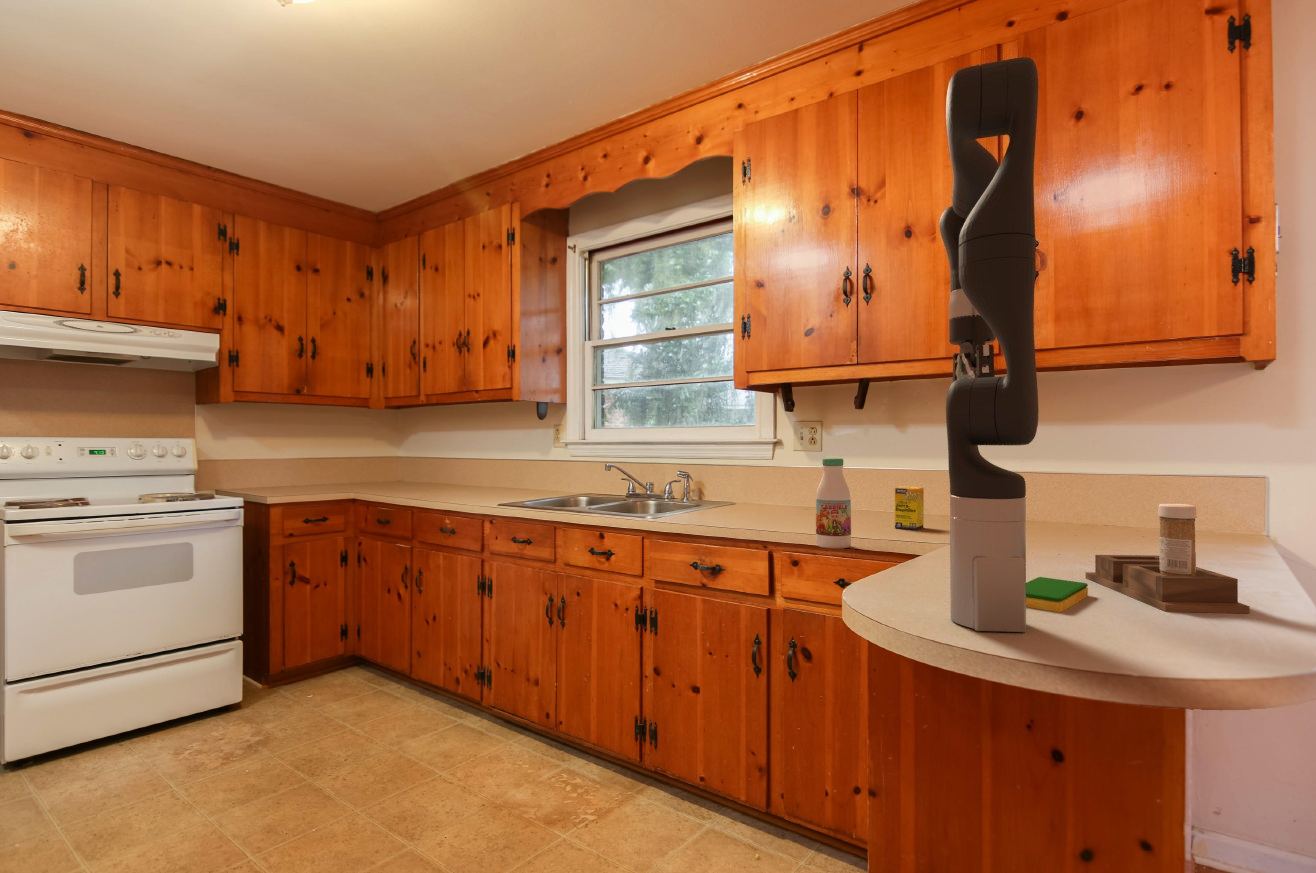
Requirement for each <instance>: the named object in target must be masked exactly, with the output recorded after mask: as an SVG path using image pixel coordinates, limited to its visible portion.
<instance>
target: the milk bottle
mask: <svg viewBox="0 0 1316 873" xmlns="http://www.w3.org/2000/svg"><path fill="white" fill-rule="evenodd" d="M822 468H823V471H822V476H821V480H820V481H819V484H818V486H817V489H816V493H815V494H816V495H815V544H816V546H817V547H820V548H825V549H848V548H850V547H851V545H852V504H851V502H852V501H851V499H852V498H851V492H850V488H849V486H848V483H847V482H846V480H845V479H846V478H845V476H844V473H843V468H844V458H842V457H824V458H822Z"/></svg>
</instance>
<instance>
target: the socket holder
mask: <svg viewBox="0 0 1316 873" xmlns="http://www.w3.org/2000/svg"><path fill="white" fill-rule="evenodd" d="M1094 556H1095V559H1094V560H1095V561H1094V562H1095V563H1094V564H1095V566H1094V567H1095V569H1094V570H1095V571H1094V572H1091V571H1090V572H1089V571H1088V572H1085V579H1087V580H1088V581H1089V580H1090V581H1092V582H1094V583H1096V584H1099V585H1102V586H1104V587H1106V588H1109V589H1111V590H1113V591H1115V592H1118V593H1121V595H1122V594H1123V595H1125V596H1127V597H1130V598H1133V599H1135V600H1137V601H1140V602H1142V603H1144V604H1146V605H1149V606H1151V607H1154V608H1156V609H1159V610H1161V611H1162V612H1168V613H1169V612H1170V613H1171V612H1173V613H1215V614H1217V613H1218V614H1227V613H1228V614H1250V605H1247V604H1244V603H1241V602H1239V601H1238V600H1239V599H1238V598H1239V597H1238V596H1239V595H1238V594H1239V593H1238V591H1239V589H1238V588H1239V587H1238V586H1239V585H1238V582H1239V580H1238V578H1236V577H1232V576H1228V575H1225V574H1221V573H1219V572H1215V571H1211V570H1209V569H1205V568H1202V567H1198V566H1196V573H1195V576H1166V575H1163V574H1160V555H1154V554H1152V555H1147V554H1143V555H1139V554H1138V555H1136V554H1134V555H1133V554H1129V555H1128V554H1095V555H1094Z"/></svg>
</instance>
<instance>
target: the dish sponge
mask: <svg viewBox="0 0 1316 873" xmlns="http://www.w3.org/2000/svg"><path fill="white" fill-rule="evenodd" d="M1088 585H1089V584H1088V583H1086V582H1080V581H1073V580H1067V579H1065V580H1064V579H1058V578H1052V577H1051V578H1050V577H1044V576H1038V577H1036V578H1033V579H1031V580H1029V581H1026V608H1032V609H1038V610H1044V611H1048V612H1056V613H1062V612H1064V611H1065V610H1067V609H1069V608H1070V607H1072V606H1073V605H1075V604H1077V603H1079V602H1081V601H1082V600H1084V599H1085V598H1087V597H1088V596H1089V588H1088Z"/></svg>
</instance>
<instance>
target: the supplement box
mask: <svg viewBox="0 0 1316 873" xmlns="http://www.w3.org/2000/svg"><path fill="white" fill-rule="evenodd" d="M924 488H925V487H922V486H921V487H916V486H903V485H901V486H896V487H895V488H894V529H899V530H902V529H903V530H913V531H919V530H922V529H923V528H924V520H925V519H924V517H925V516H924V513H925V512H924V508H925V507H924V506H925V505H924V493H925V492H924Z"/></svg>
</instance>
